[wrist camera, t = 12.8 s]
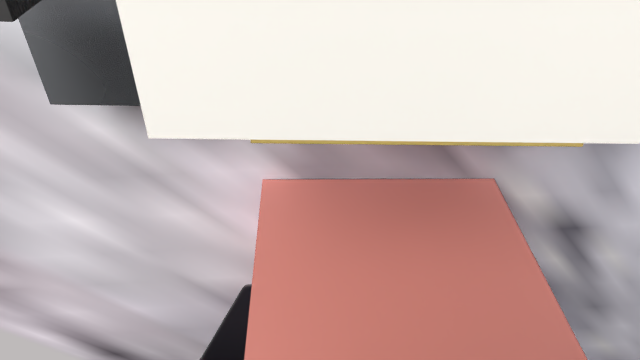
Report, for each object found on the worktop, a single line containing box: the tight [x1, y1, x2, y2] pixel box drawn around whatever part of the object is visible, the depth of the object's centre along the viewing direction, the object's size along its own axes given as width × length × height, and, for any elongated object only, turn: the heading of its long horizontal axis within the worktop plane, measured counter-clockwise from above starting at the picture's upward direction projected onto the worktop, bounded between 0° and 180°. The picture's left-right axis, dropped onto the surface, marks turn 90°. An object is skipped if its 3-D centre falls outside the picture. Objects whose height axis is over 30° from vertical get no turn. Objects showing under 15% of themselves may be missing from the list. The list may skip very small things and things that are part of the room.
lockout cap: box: [244, 179, 587, 360], centre depth 9 cm, size 4×4×5 cm
